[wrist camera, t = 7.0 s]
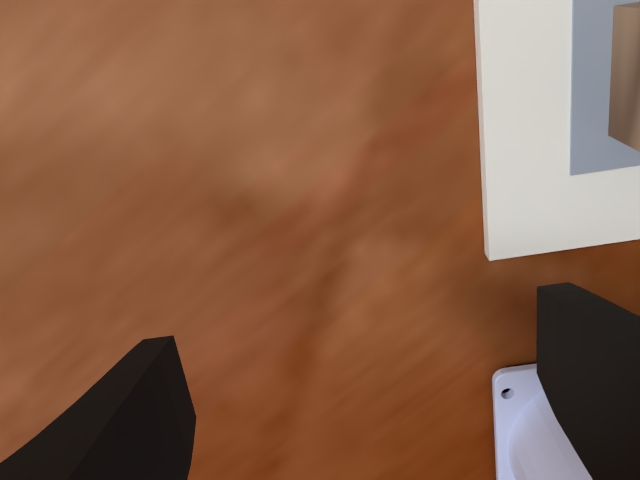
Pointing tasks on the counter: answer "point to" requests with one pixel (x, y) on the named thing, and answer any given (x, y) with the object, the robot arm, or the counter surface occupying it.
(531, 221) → the white square board
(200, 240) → the counter surface
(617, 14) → the walnut block
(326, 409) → the counter surface
